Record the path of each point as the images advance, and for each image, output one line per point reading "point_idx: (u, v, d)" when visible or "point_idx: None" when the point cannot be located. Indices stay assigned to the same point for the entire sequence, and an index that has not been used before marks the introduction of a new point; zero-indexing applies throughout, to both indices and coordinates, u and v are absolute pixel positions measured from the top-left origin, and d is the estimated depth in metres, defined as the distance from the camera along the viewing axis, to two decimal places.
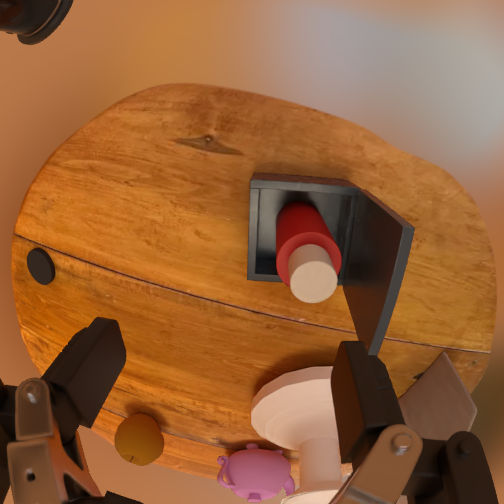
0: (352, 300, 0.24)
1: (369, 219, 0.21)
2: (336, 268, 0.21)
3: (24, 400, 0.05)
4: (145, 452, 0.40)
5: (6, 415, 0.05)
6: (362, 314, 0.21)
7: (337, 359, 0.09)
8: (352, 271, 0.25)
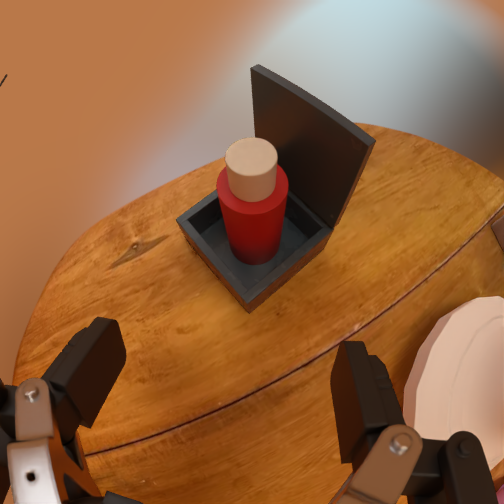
0: (332, 194, 0.21)
1: (265, 135, 0.23)
2: (278, 169, 0.20)
3: (24, 400, 0.05)
4: None
5: (6, 415, 0.05)
6: (332, 160, 0.18)
7: (337, 359, 0.09)
8: (311, 191, 0.23)
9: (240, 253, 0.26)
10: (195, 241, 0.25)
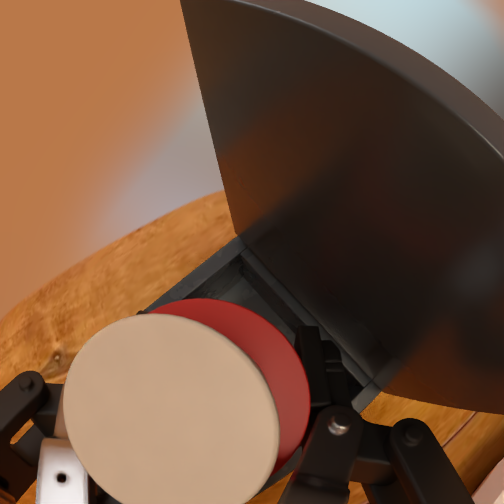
0: (414, 382, 0.07)
1: (249, 203, 0.09)
2: (280, 353, 0.06)
3: None
4: None
5: (50, 415, 0.05)
6: (466, 363, 0.04)
7: (295, 343, 0.10)
8: (357, 344, 0.09)
9: None
10: None
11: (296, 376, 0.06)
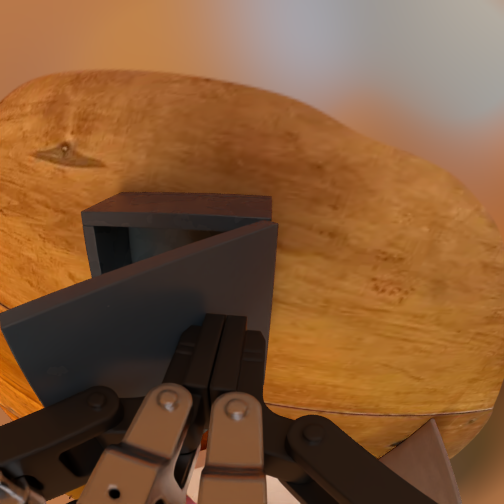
0: None
1: None
2: None
3: (155, 405, 0.06)
4: None
5: None
6: None
7: None
8: None
9: None
10: (90, 263, 0.15)
11: None
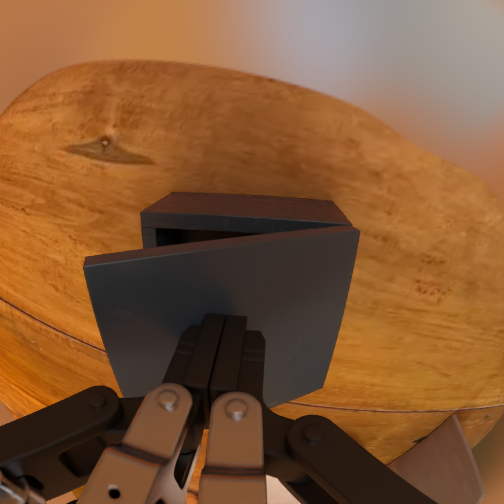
0: None
1: None
2: None
3: (155, 405, 0.06)
4: None
5: None
6: None
7: None
8: None
9: None
10: None
11: None
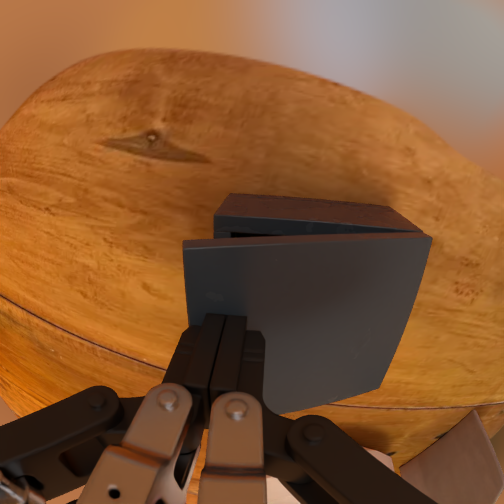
0: None
1: None
2: None
3: (155, 405, 0.06)
4: None
5: None
6: None
7: None
8: None
9: None
10: None
11: None
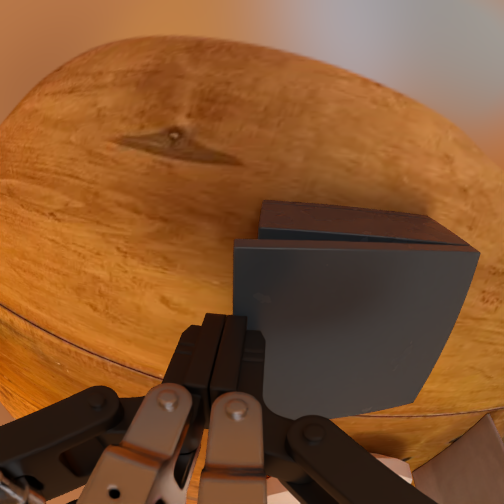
0: None
1: None
2: None
3: (155, 405, 0.06)
4: None
5: None
6: None
7: None
8: None
9: None
10: None
11: None
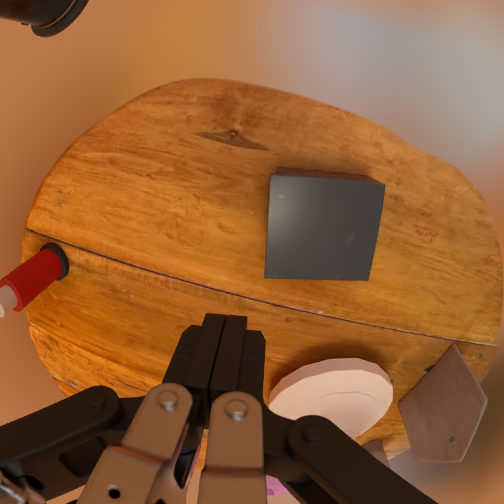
0: None
1: None
2: (19, 308, 0.28)
3: (155, 405, 0.06)
4: None
5: None
6: None
7: None
8: None
9: None
10: None
11: (18, 310, 0.28)
